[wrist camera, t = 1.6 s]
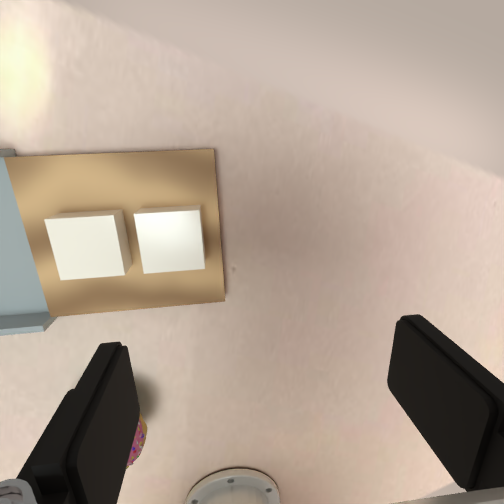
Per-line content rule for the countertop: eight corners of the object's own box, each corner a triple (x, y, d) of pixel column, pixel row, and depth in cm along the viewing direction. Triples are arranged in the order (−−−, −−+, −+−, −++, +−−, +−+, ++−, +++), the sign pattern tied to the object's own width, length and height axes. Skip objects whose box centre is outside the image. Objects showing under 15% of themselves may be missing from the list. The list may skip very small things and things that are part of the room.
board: (224, 293, 31) (225, 301, 29) (59, 308, 29) (50, 317, 28) (213, 148, 26) (213, 148, 25) (16, 156, 25) (3, 157, 23)
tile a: (205, 259, 28) (204, 269, 25) (149, 263, 27) (143, 273, 25) (200, 204, 26) (199, 210, 24) (140, 208, 26) (133, 214, 23)
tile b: (132, 264, 27) (124, 275, 25) (73, 269, 27) (60, 280, 24) (122, 209, 25) (113, 215, 23) (59, 212, 25) (44, 219, 23)
